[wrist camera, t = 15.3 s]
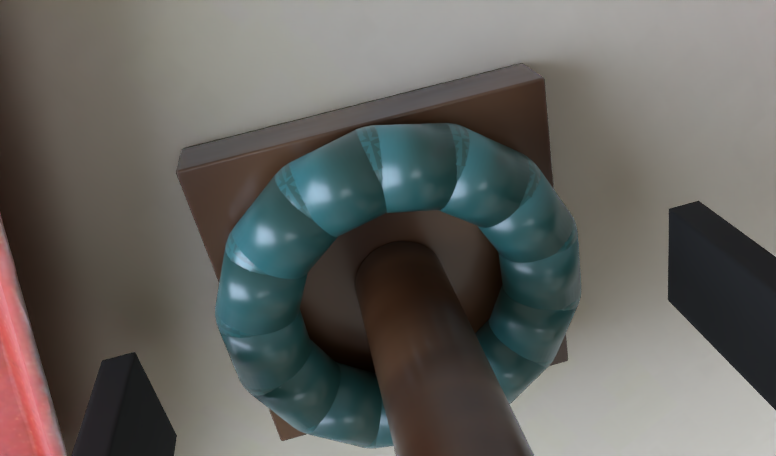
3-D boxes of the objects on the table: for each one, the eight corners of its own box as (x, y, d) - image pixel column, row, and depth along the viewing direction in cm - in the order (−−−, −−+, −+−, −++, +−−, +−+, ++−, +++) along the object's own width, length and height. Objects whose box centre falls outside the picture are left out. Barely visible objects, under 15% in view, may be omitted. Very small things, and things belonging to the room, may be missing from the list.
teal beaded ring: (546, 67, 16) (583, 91, 14) (571, 364, 20) (601, 410, 19) (165, 163, 15) (153, 200, 13) (278, 447, 20) (280, 502, 18)
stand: (523, 62, 17) (828, 270, 8) (549, 332, 22) (768, 665, 12) (180, 148, 17) (91, 477, 8) (279, 407, 21) (299, 814, 12)
